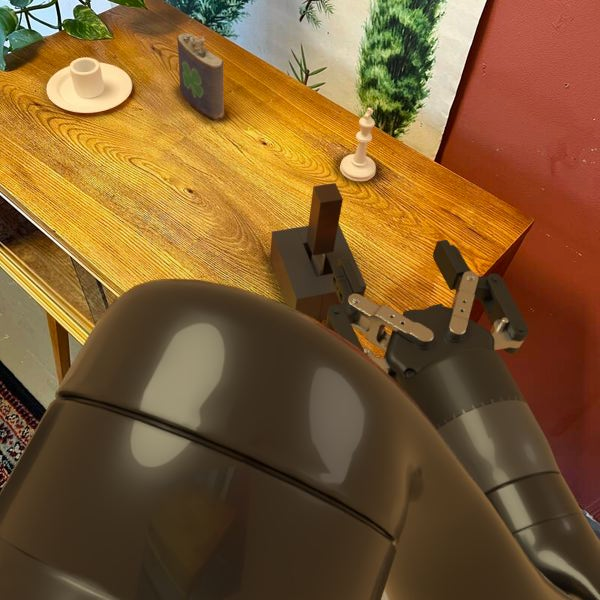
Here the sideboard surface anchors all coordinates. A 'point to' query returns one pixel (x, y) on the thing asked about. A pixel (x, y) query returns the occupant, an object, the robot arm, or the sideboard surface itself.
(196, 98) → the flask
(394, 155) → the sideboard surface
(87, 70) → the candle holder
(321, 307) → the knife block
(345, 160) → the chess piece
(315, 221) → the knife
